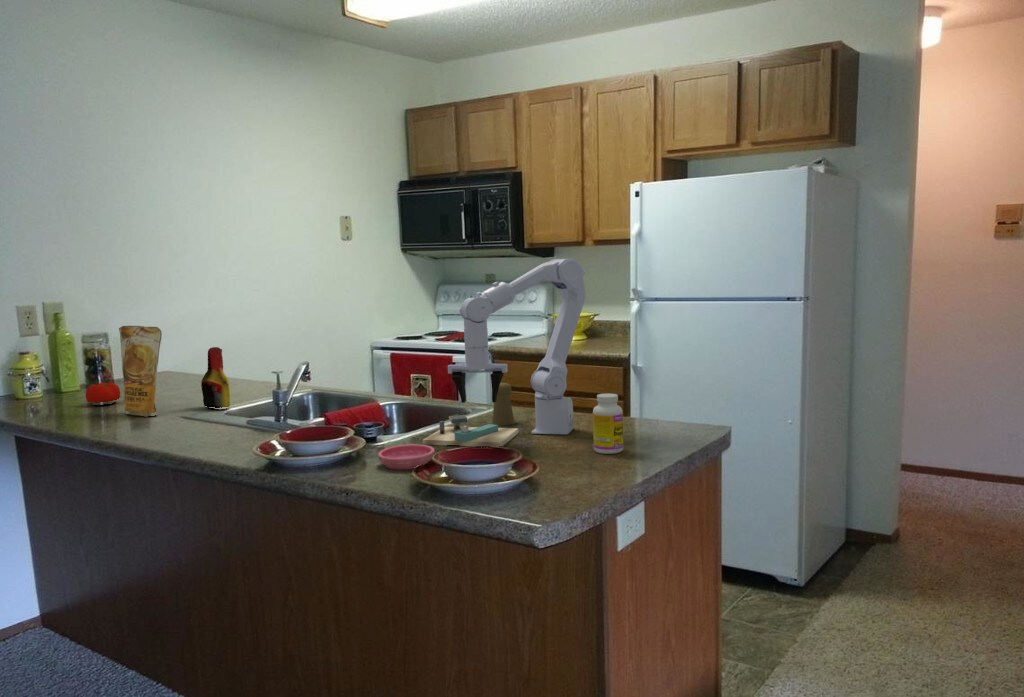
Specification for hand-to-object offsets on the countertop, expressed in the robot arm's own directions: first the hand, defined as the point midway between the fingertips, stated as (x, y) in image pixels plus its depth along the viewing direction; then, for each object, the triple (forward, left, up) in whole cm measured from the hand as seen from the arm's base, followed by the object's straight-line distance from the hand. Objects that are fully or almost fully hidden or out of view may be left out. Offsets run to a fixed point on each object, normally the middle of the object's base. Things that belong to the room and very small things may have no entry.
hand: (479, 401), depth 187 cm
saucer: (+9, +24, -10) cm, 27 cm away
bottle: (+100, -30, -10) cm, 105 cm away
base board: (+3, -1, -10) cm, 10 cm away
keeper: (+9, -4, -10) cm, 14 cm away
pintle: (+2, +5, -8) cm, 10 cm away
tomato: (+148, -33, -10) cm, 152 cm away
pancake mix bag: (+119, -19, -10) cm, 121 cm away
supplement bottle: (-33, +7, -10) cm, 35 cm away
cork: (0, -19, -10) cm, 22 cm away
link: (+1, 0, -8) cm, 8 cm away
